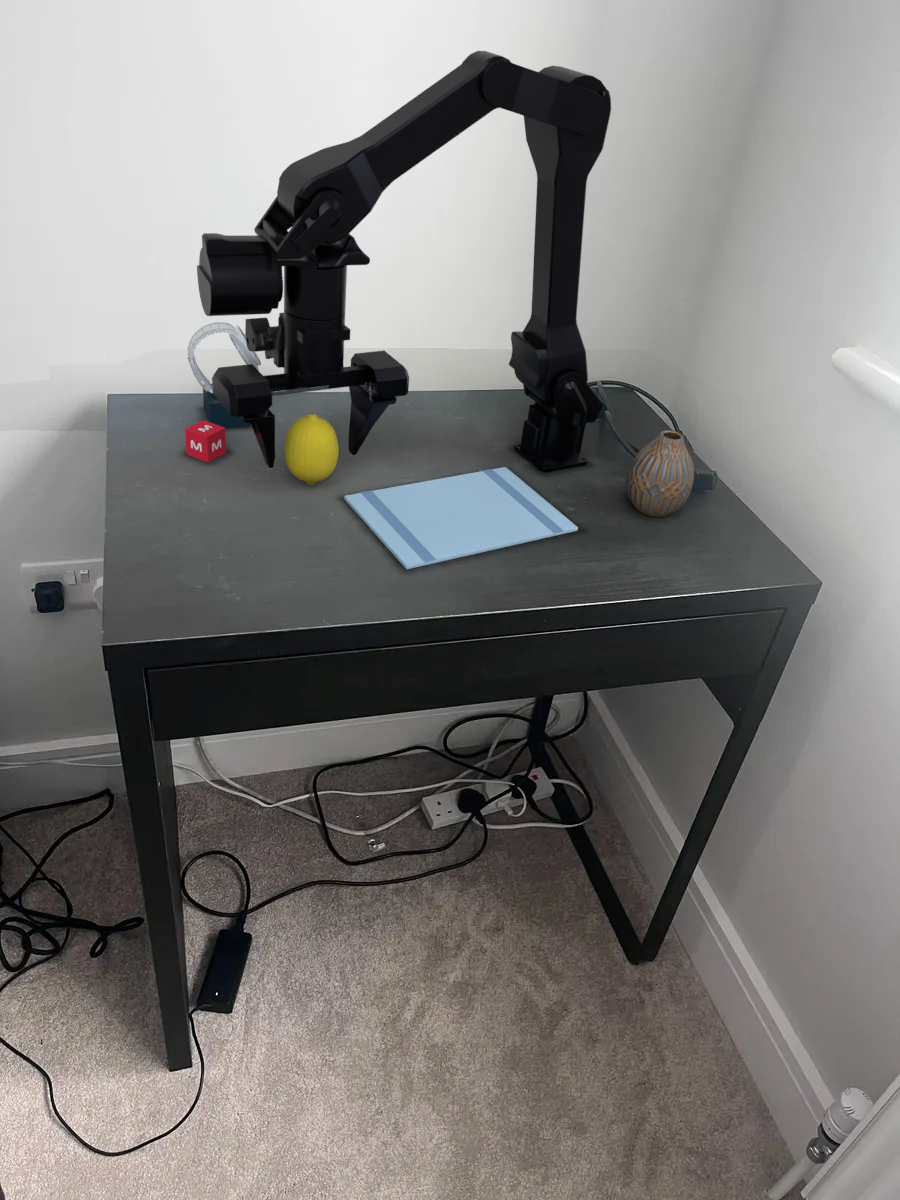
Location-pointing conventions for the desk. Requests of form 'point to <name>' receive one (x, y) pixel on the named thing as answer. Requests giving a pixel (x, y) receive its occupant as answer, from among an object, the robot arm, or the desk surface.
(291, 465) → the lemon
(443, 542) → the cloth
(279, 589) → the desk surface
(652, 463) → the vase
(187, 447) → the red letter cube
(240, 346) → the watch
